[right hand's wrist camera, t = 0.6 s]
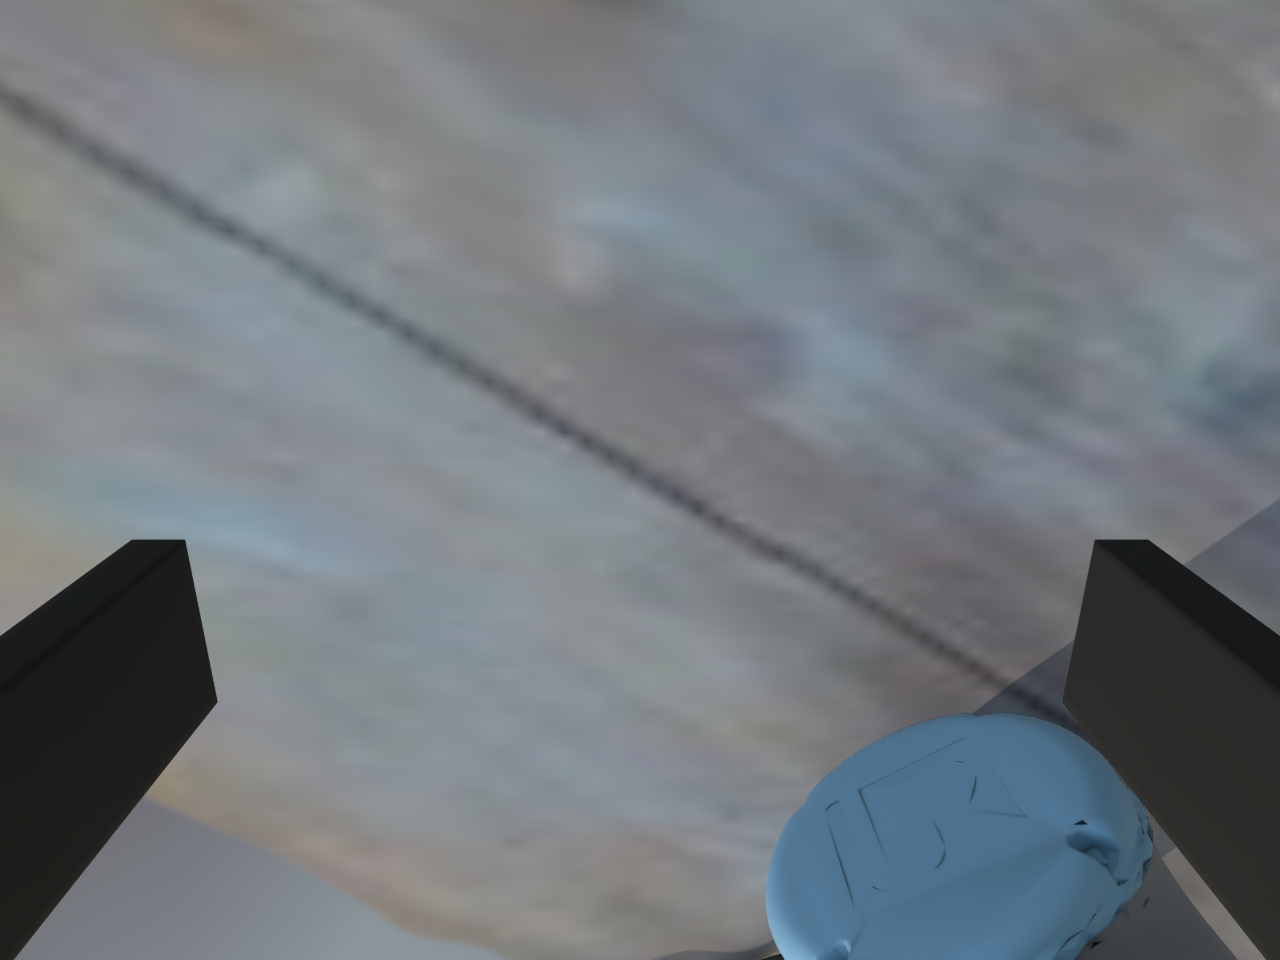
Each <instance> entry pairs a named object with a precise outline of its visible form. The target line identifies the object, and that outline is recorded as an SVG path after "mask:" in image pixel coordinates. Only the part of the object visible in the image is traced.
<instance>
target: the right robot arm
mask: <svg viewBox="0 0 1280 960" xmlns="http://www.w3.org/2000/svg"><path fill="white" fill-rule="evenodd" d="M216 703H217V697H216V692H215V687H214V682H213V677H212V672H211V667H210V662H209V657H208V652H207V647H206V642H205V637H204V632H203V627H202V622H201V617H200V612H199V607H198V602H197V597H196V592H195V587H194V582H193V577H192V572H191V567H190V562H189V557H188V552H187V547H186V542H185V540H131V541H129V542H128V543H127V544H125V545H124V546H123V547H121V548H120V549H119V550H117V551H116V552H114V553H113V554H112V555H110V556H109V557H108V558H106V559H105V560H103V561H102V562H101V563H99V564H98V565H97V566H95V567H94V568H93V569H91V570H90V571H88V572H87V573H86V574H84V575H83V576H82V577H80V578H79V579H78V580H76V581H75V582H73V583H72V584H71V585H69V586H68V587H67V588H65V589H64V590H62V591H61V592H60V593H58V594H57V595H56V596H54V597H53V598H52V599H50V600H49V601H47V602H46V603H45V604H43V605H42V606H41V607H39V608H38V609H36V610H35V611H34V612H32V613H31V614H30V615H28V616H27V617H26V618H24V619H23V620H21V621H20V622H19V623H17V624H16V625H15V626H13V627H12V628H11V629H9V630H8V631H6V632H5V633H4V634H2V635H1V636H0V960H14V959H15V958H16V956H17V955H18V954H19V952H20V951H21V950H22V949H23V947H24V946H25V945H26V944H27V942H28V941H29V940H30V939H31V937H32V936H33V935H34V934H35V932H36V931H37V930H38V928H39V927H40V926H41V925H42V923H43V922H44V921H45V920H46V918H47V917H48V916H49V915H50V913H51V912H52V911H53V909H54V908H55V907H56V906H57V904H58V903H59V902H60V901H61V899H62V898H63V897H64V896H65V894H66V893H67V892H68V891H69V889H70V888H71V887H72V885H73V884H74V883H75V882H76V880H77V879H78V878H79V877H80V875H81V874H82V873H83V872H84V870H85V869H86V868H87V867H88V865H89V864H90V863H91V861H92V860H93V859H94V858H95V856H96V855H97V854H98V853H99V851H100V850H101V849H102V848H103V846H104V845H105V844H106V842H107V841H108V840H109V839H110V837H111V836H112V835H113V834H114V832H115V831H116V830H117V829H118V827H119V826H120V825H121V823H122V822H123V821H124V820H125V818H126V817H127V816H128V815H129V813H130V812H131V811H132V810H133V808H134V807H135V806H136V805H137V803H138V802H139V801H140V799H141V798H142V797H143V796H144V794H145V793H146V792H147V791H148V789H149V788H150V787H151V786H152V784H153V783H154V782H155V781H156V779H157V778H158V777H159V775H160V774H161V773H162V772H163V770H164V769H165V768H166V767H167V765H168V764H169V763H170V762H171V760H172V759H173V758H174V757H175V755H176V754H177V753H178V751H179V750H180V749H181V748H182V746H183V745H184V744H185V743H186V741H187V740H188V739H189V738H190V736H191V735H192V734H193V733H194V731H195V730H196V729H197V727H198V726H199V725H200V724H201V722H202V721H203V720H204V719H205V717H206V716H207V715H208V714H209V712H210V711H211V710H212V708H213V707H214V706H215V705H216ZM1063 703H1064V705H1065V706H1066V707H1067V708H1068V710H1069V711H1070V712H1071V714H1072V715H1073V716H1074V717H1075V719H1076V720H1077V721H1078V722H1079V724H1080V725H1081V726H1082V727H1083V729H1084V730H1085V731H1086V733H1087V734H1088V735H1089V736H1090V738H1091V739H1092V740H1093V741H1094V743H1095V744H1096V745H1097V746H1098V748H1099V749H1100V750H1101V751H1102V753H1103V754H1104V755H1105V757H1106V758H1107V759H1108V760H1109V762H1110V763H1111V764H1112V765H1113V767H1114V768H1115V769H1116V770H1117V772H1118V773H1119V774H1120V775H1121V777H1122V778H1123V779H1124V781H1125V782H1126V783H1127V784H1128V786H1129V787H1130V788H1131V789H1132V791H1133V792H1134V793H1135V794H1136V796H1137V797H1138V798H1139V800H1140V801H1141V802H1142V803H1143V805H1144V806H1145V807H1146V808H1147V810H1148V811H1149V812H1150V813H1151V815H1152V816H1153V817H1154V818H1155V820H1156V821H1157V822H1158V824H1159V825H1160V826H1161V827H1162V829H1163V830H1164V831H1165V832H1166V834H1167V835H1168V836H1169V837H1170V839H1171V840H1172V841H1173V842H1174V844H1175V845H1176V846H1177V848H1178V849H1179V850H1180V851H1181V853H1182V854H1183V855H1184V856H1185V858H1186V859H1187V860H1188V861H1189V863H1190V864H1191V865H1192V867H1193V868H1194V869H1195V870H1196V872H1197V873H1198V874H1199V875H1200V877H1201V878H1202V879H1203V880H1204V882H1205V883H1206V884H1207V885H1208V887H1209V888H1210V889H1211V891H1212V892H1213V893H1214V894H1215V896H1216V897H1217V898H1218V899H1219V901H1220V902H1221V903H1222V904H1223V906H1224V907H1225V908H1226V909H1227V911H1228V912H1229V913H1230V915H1231V916H1232V917H1233V918H1234V920H1235V921H1236V922H1237V923H1238V925H1239V926H1240V927H1241V928H1242V930H1243V931H1244V932H1245V934H1246V935H1247V936H1248V937H1249V939H1250V940H1251V941H1252V942H1253V944H1254V945H1255V946H1256V947H1257V949H1258V950H1259V951H1260V952H1261V954H1262V955H1263V956H1264V958H1265V959H1266V960H1280V636H1279V635H1278V634H1276V633H1275V632H1274V631H1272V630H1271V629H1269V628H1268V627H1267V626H1265V625H1264V624H1263V623H1261V622H1260V621H1259V620H1257V619H1256V618H1254V617H1253V616H1252V615H1250V614H1249V613H1248V612H1246V611H1245V610H1244V609H1242V608H1241V607H1239V606H1238V605H1237V604H1235V603H1234V602H1233V601H1231V600H1230V599H1228V598H1227V597H1226V596H1224V595H1223V594H1222V593H1220V592H1219V591H1218V590H1216V589H1215V588H1213V587H1212V586H1211V585H1209V584H1208V583H1207V582H1205V581H1204V580H1202V579H1201V578H1200V577H1198V576H1197V575H1196V574H1194V573H1193V572H1192V571H1190V570H1189V569H1187V568H1186V567H1185V566H1183V565H1182V564H1181V563H1179V562H1178V561H1177V560H1175V559H1174V558H1172V557H1171V556H1170V555H1168V554H1167V553H1166V552H1164V551H1163V550H1161V549H1160V548H1159V547H1157V546H1156V545H1155V544H1153V543H1152V542H1151V541H1149V540H1095V542H1094V547H1093V552H1092V557H1091V562H1090V567H1089V572H1088V577H1087V582H1086V587H1085V592H1084V597H1083V602H1082V607H1081V612H1080V617H1079V622H1078V627H1077V632H1076V637H1075V642H1074V647H1073V652H1072V657H1071V662H1070V667H1069V672H1068V677H1067V682H1066V687H1065V692H1064V697H1063Z"/></svg>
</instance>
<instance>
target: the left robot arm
mask: <svg viewBox="0 0 1280 960" xmlns="http://www.w3.org/2000/svg"><path fill="white" fill-rule="evenodd" d="M766 909H767V916H768V922H769V927H770V930H771V933H772V936H773V938H774V940H775V943H776V945H777V947H778V949H779V951H780V952H781V954H779V955H775V956H771V957H768V958H765V959H762V960H1238V959H1237V958H1236V957H1235V956H1234V955H1233V953H1232V952H1231V951H1230V950H1229V948H1228V947H1227V946H1226V945H1225V944H1224V942H1223V941H1222V940H1221V939H1220V938H1219V936H1218V935H1217V934H1216V933H1215V932H1214V930H1213V929H1212V928H1211V927H1210V925H1209V924H1208V923H1207V922H1206V921H1205V919H1204V918H1203V917H1202V916H1201V914H1200V913H1199V912H1198V910H1197V909H1196V908H1195V907H1194V905H1193V904H1192V903H1191V901H1190V900H1189V898H1188V897H1187V896H1186V894H1185V893H1184V892H1183V890H1182V889H1181V887H1180V886H1179V884H1178V883H1177V881H1176V880H1175V878H1174V877H1173V875H1172V874H1171V872H1170V871H1169V869H1168V868H1167V866H1166V865H1165V863H1164V861H1163V860H1162V858H1161V856H1160V855H1159V853H1158V851H1157V849H1156V847H1155V845H1154V843H1153V831H1152V829H1151V827H1150V825H1149V819H1148V817H1147V816H1146V812H1145V809H1144V806H1143V804H1142V803H1141V801H1140V800H1139V798H1138V797H1137V796H1136V795H1135V794H1134V793H1133V792H1132V791H1131V790H1130V789H1129V788H1128V787H1127V786H1125V785H1124V784H1123V783H1122V781H1121V780H1120V778H1119V777H1118V775H1117V774H1116V772H1115V771H1114V769H1113V768H1112V766H1111V765H1110V764H1109V762H1108V761H1107V760H1106V759H1105V758H1104V757H1103V756H1102V755H1101V754H1100V753H1099V752H1098V751H1097V750H1096V749H1095V748H1094V747H1092V746H1091V745H1090V744H1089V743H1088V742H1086V741H1085V740H1084V739H1082V738H1081V737H1079V736H1077V735H1076V734H1074V733H1072V732H1071V731H1069V730H1067V729H1065V728H1063V727H1061V726H1058V725H1056V724H1053V723H1050V722H1048V721H1045V720H1042V719H1038V718H1034V717H1030V716H1024V715H1019V714H1013V713H1002V712H1001V713H994V714H990V715H983V716H976V715H974V714H969V713H963V714H956V715H950V716H945V717H940V718H936V719H933V720H929V721H925V722H921V723H918V724H915V725H912V726H909V727H906V728H904V729H901V730H899V731H897V732H894V733H892V734H890V735H888V736H886V737H884V738H882V739H879V740H878V741H876V742H874V743H872V744H870V745H869V746H867V747H865V748H864V749H862V750H860V751H859V752H857V753H855V754H854V755H852V756H851V757H849V758H848V759H847V760H845V761H844V762H842V763H841V764H840V765H839V766H838V767H836V768H835V769H834V770H833V771H832V772H830V773H829V774H828V775H827V776H826V777H825V778H823V779H822V780H821V781H820V782H819V783H818V784H817V785H816V786H815V787H814V788H813V790H812V791H811V792H810V793H809V795H808V798H807V801H806V803H805V804H804V805H803V806H802V807H801V808H800V809H799V810H798V811H797V812H796V813H795V814H794V815H793V816H792V817H791V819H790V820H789V821H788V823H787V824H786V826H785V828H784V830H783V832H782V834H781V836H780V838H779V840H778V842H777V845H776V847H775V850H774V853H773V856H772V859H771V862H770V866H769V871H768V876H767V884H766Z"/></svg>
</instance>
